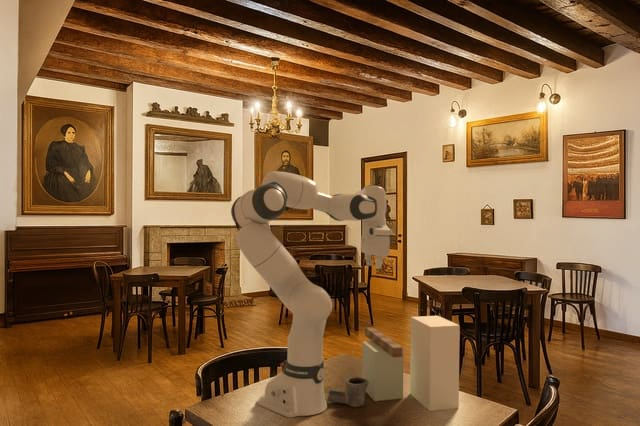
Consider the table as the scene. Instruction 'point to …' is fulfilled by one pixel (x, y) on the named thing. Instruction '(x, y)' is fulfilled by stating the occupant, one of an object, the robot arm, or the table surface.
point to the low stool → (382, 372)
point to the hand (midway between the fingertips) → (373, 267)
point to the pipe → (350, 392)
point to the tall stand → (434, 362)
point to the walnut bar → (383, 342)
